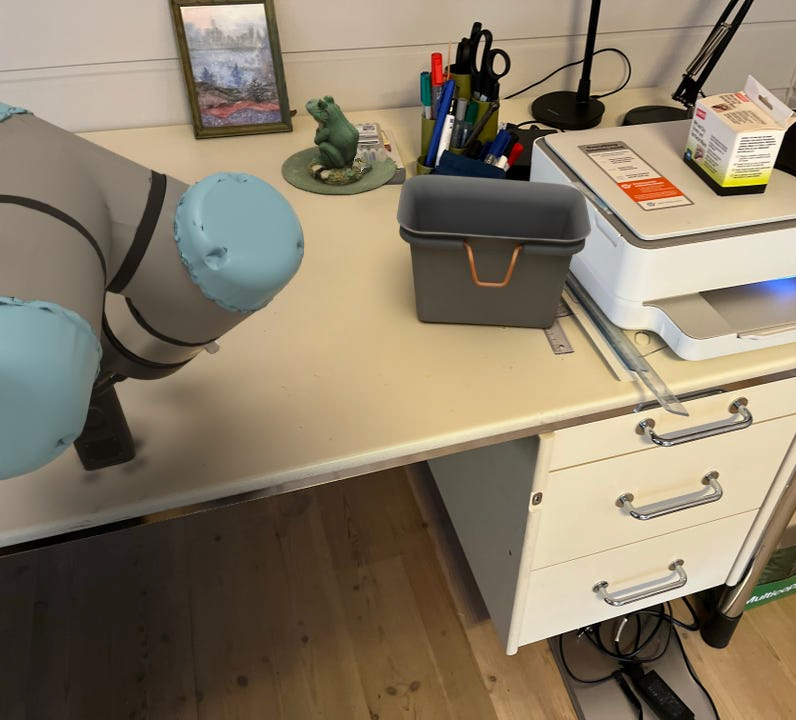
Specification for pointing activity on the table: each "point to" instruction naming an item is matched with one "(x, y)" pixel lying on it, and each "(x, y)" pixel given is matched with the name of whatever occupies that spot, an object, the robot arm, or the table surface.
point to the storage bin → (490, 247)
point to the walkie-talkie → (105, 433)
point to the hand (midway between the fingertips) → (75, 395)
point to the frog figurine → (334, 156)
